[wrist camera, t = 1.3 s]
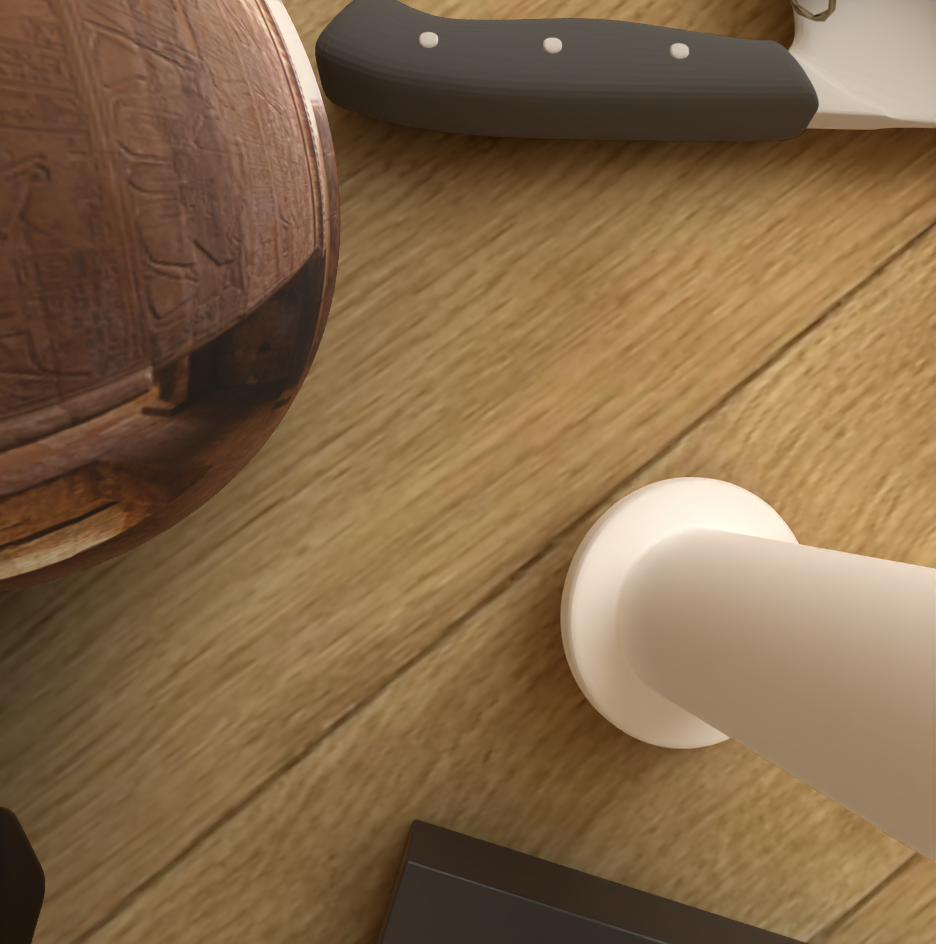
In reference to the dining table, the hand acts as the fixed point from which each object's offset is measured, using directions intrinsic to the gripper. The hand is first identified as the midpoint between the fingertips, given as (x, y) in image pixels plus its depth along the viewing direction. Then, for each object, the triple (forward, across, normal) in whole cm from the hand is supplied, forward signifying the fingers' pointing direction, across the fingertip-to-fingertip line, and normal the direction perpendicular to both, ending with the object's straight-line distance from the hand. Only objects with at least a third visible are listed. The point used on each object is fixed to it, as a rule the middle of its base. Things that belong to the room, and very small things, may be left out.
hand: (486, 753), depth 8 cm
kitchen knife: (+18, -13, -5) cm, 23 cm away
